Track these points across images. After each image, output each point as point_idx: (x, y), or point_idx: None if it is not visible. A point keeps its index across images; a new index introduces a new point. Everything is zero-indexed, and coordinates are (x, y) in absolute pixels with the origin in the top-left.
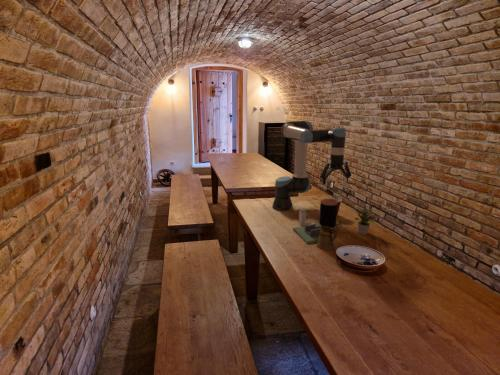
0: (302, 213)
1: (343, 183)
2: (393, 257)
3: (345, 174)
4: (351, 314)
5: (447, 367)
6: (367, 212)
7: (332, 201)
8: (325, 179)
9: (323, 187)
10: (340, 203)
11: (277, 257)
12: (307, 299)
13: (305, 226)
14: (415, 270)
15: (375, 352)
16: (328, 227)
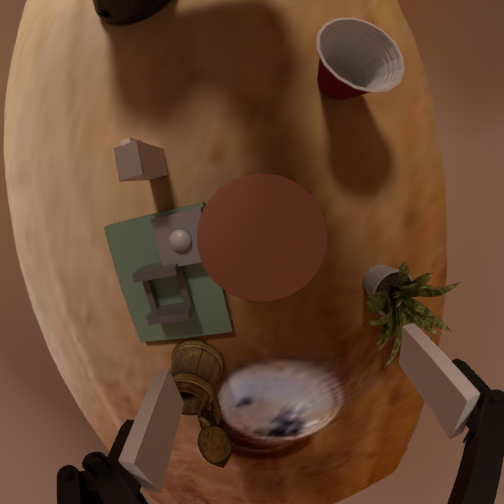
0: (127, 180)
1: (422, 356)
2: (354, 414)
3: (459, 476)
4: (190, 492)
5: None
6: (435, 292)
7: (289, 244)
8: (136, 491)
9: (152, 383)
10: (389, 76)
11: (75, 378)
12: None
13: (134, 278)
14: (355, 445)
15: None
16: (197, 395)
